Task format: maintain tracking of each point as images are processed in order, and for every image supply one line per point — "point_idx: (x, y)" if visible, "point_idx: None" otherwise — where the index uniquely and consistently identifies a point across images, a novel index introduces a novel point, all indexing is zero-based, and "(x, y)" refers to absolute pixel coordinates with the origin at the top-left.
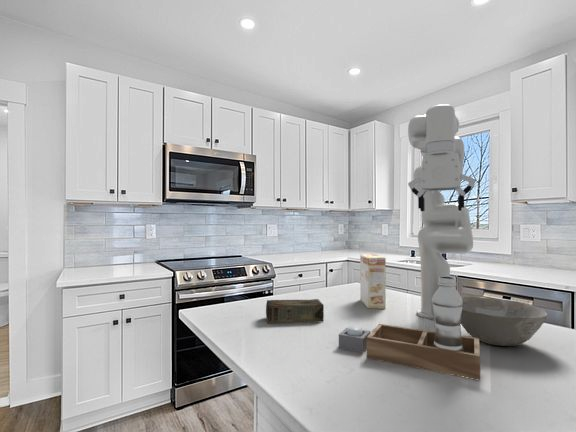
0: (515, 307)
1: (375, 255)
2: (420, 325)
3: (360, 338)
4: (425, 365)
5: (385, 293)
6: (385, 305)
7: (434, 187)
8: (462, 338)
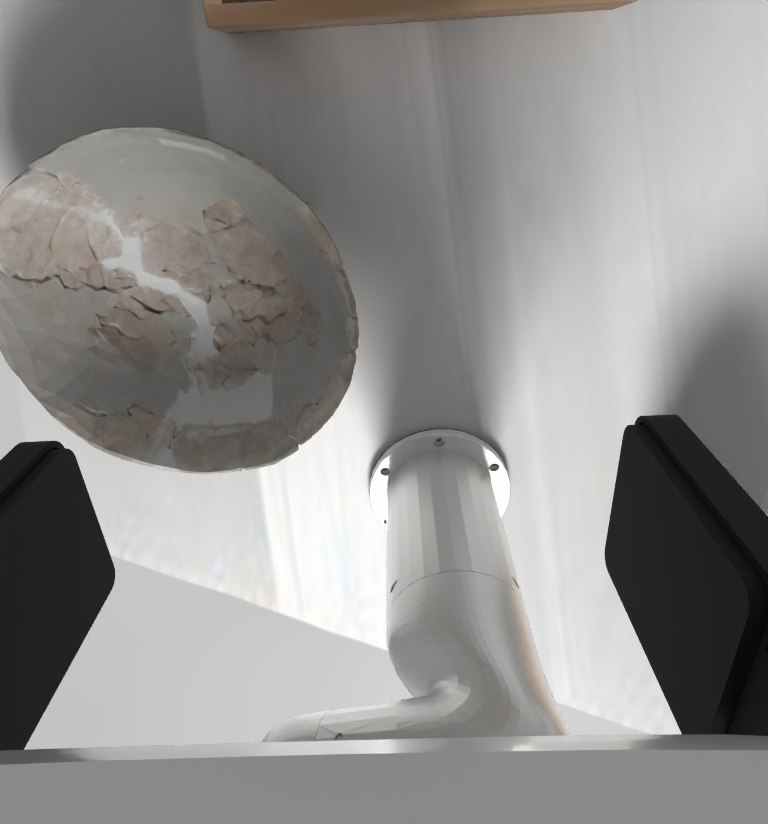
0: (125, 429)
1: None
2: (476, 336)
3: None
4: None
5: None
6: None
7: (490, 793)
8: (268, 2)
